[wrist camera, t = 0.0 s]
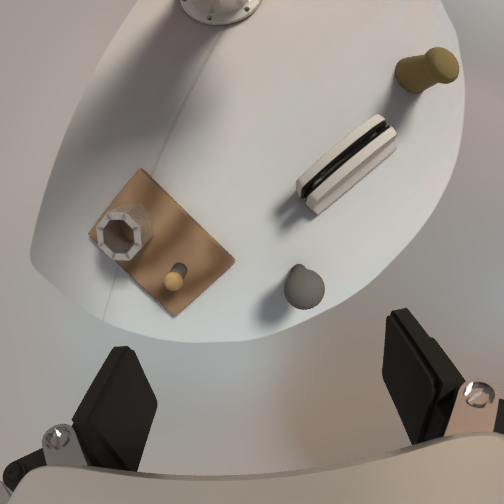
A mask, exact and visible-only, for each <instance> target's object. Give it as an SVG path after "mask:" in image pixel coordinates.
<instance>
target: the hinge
mask: <svg viewBox="0 0 504 504" xmlns="http://www.w3.org/2000/svg"><path fill="white" fill-rule="evenodd" d="M385 126H386V122H385V118H383V117H382V116H380V115H379V114H376V115H375V116H373V117H372V118H370V119H369V120H367V121H366V122H365V123H363V124H362V125H360V126H359V127H358V128H356V129H355V130H354V131H352V132H351V133H350V134H349V135H347V136H346V137H345V138H344V139H342V140H341V141H340V142H339V143H337V144H336V145H335V146H334V147H333V148H331V149H330V150H329V151H328V152H327V153H326V154H325V155H323V156H322V157H321V158H320V159H319V160H318V161H317V162H316V163H314V164H313V165H312V166H311V167H310V168H309V169H308V170H307V171H306V172H305V173H304V174H303V175H302V176H301V177H299V179H298V180H297V181H296V191H297V193H298V195H299V197H300V198H301V197H302V198H303V199H304V198H305V197H306V200H305V201H306V205H307V206H308V207H309V208H310V209H311V210H312V211H314V212H315V213H316V214H317V215H319V214H320V213H322V212H323V211H324V210H325V209H326V208H328V207H329V206H330V205H331V204H332V203H334V202H335V201H336V200H337V199H338V198H340V197H341V196H342V195H343V194H344V193H346V192H347V191H348V190H349V189H350V188H352V187H353V186H354V185H355V184H356V183H357V182H359V181H360V180H361V179H362V178H363V177H365V176H366V175H367V174H368V173H369V172H371V171H372V170H373V169H374V168H375V167H376V166H378V165H379V164H380V163H381V162H382V161H384V160H385V159H386V158H387V157H388V156H389V155H391V154H392V153H393V152H394V151H395V150H396V149H397V148H396V146H395V143H394V139H395V137H396V135H397V133H396V132H395V130H394V129H393V127H390V126H389V125H388V126H386V127H385ZM347 156H348V157H347ZM346 157H347V158H346ZM345 158H346V159H345ZM341 161H342V162H341ZM340 162H341V163H340ZM339 163H340V164H339ZM338 164H339V165H338ZM336 165H337V166H336ZM335 166H336V167H335Z"/></svg>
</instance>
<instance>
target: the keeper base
mask: <svg viewBox="0 0 504 504" xmlns="http://www.w3.org/2000/svg"><path fill="white" fill-rule="evenodd" d="M129 203H141V204H142V205H143V206H144V207H145V208H146V209H147V210H148V211H149V212H150V213H151V214H152V215H153V216H154V232H155V234H154V236H153V237H152V238H151V239H150V240H149V241H148V242H147V243H146V244H145V246H144V247H143V248H142V249H141V250H140V251H139V252H138V253H137V254H136V255H135V256H134V257H133V258H132V259H131V260H130V261H129V260H115V261H116V262H117V263H118V264H119V265H120V266H121V267H122V268H123V269H124V270H125V271H126V272H127V273H128V274H129V275H130V276H131V277H133V278H134V279H135V280H136V281H137V282H138V283H139V284H140V285H141V286H142V287H143V288H144V289H145V290H147V291H148V292H149V293H150V294H151V295H152V296H153V297H154V298H155V299H156V300H158V301H159V302H160V303H161V304H162V305H163V306H164V307H165V308H167V309H168V310H169V311H170V312H171V313H172V314H173V315H175V316H176V315H177V314H179V313H180V312H181V311H182V310H183V309H184V308H185V307H186V306H187V305H188V304H190V303H191V302H192V301H193V300H194V299H195V298H196V297H197V296H198V295H199V294H201V293H202V292H203V291H204V290H205V289H206V288H207V287H208V286H209V285H210V284H212V283H213V282H214V281H215V280H216V279H217V278H218V277H219V276H220V275H222V274H223V273H224V272H225V271H226V270H227V269H228V268H229V267H230V266H231V265H233V264H234V263H235V259H234V258H233V257H232V256H231V255H230V254H229V253H228V252H227V251H226V250H225V249H224V248H223V247H222V246H221V245H220V244H219V243H218V242H217V241H216V240H215V239H214V238H213V237H212V236H211V235H210V234H208V233H207V232H206V231H205V230H204V229H203V228H202V227H201V226H200V225H199V224H198V223H197V222H196V221H195V220H194V219H193V218H192V217H191V216H190V215H189V214H188V213H187V212H186V211H185V210H184V209H183V208H182V207H181V206H180V205H179V204H178V203H177V202H176V201H175V200H174V199H173V198H172V197H171V196H170V195H169V194H168V193H167V192H166V191H165V190H164V189H163V188H162V187H161V186H160V185H159V184H158V183H157V182H156V181H155V180H153V179H152V178H151V177H150V176H149V175H148V174H147V173H146V172H145V171H144V170H143V169H139V170H138V171H137V172H136V174H135V175H134V176H133V177H132V178H131V180H130V181H129V182H128V183H127V184H126V186H125V187H124V188H123V189H122V190H121V192H120V193H119V194H118V195H117V197H116V198H115V199H114V200H113V202H112V203H111V204H110V206H109V207H108V208H107V209H106V211H105V212H104V213H103V215H102V216H101V217H100V219H99V220H98V221H97V223H96V224H95V225H94V227H93V228H92V229H91V231H90V232H89V233H88V234H89V235H90V236H91V237H92V238H93V239H94V240H95V241H96V242H97V243H98V239H97V231H96V226H97V225H98V224H99V222H100V221H101V220H102V218H103V217H104V216H105V214H106V213H107V212H109V211H111V210H113V209H114V208H116V207H118V206H120V205H122V204H129ZM119 224H120V232H121V233H122V234H123V235H124V236H125V237H126V238H127V239H128V240H134V231H133V229H132V228H131V227H130V226H129V225H128V224H127V223H126V222H125V221H124V220H119Z"/></svg>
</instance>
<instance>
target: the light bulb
mask: <svg viewBox="0 0 504 504" xmlns="http://www.w3.org/2000/svg"><path fill="white" fill-rule="evenodd" d="M284 292H285V296H286V299H287V300H288V302H289V303H290V304H291V305H292V306H294V307H295V308H298V309H302V310H306V309H311V308H313V307H315V306H317V305H318V304H319V303H320V302H321V300H322V298H323V296H324V292H325V287H324V282H323V280H322V278H321V277H320V276H319V275H318V274H317V273H316V272H314V271H312V270H308V269H306V268H305V267H304V266H303V265H302V264H297V265H295V266H293V268H292V273H291V275H290V276H289V277H288V279H287V281H286V283H285V287H284Z"/></svg>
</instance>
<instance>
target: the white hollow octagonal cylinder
mask: <svg viewBox="0 0 504 504" xmlns="http://www.w3.org/2000/svg"><path fill="white" fill-rule="evenodd" d="M119 220H124V221H125V222H126V223H127V224H128V225H129V226H130V227H131V228H132V229H133V231H134V240H128V239H127V238H126V237H125V236H124V235H123V234H122V233H121V232H120V224H119ZM96 231H97V239H98V246H99V247H100V248H101V249H102V250H103V251H104V252H105V253H106V254H107V255H108V256H109V257H110V258H111V259H112V260H129V261H130V260H131V259H132V258H133V257H134V256H135V255H136V254H137V253H138V252H139V251H140V250H141V249H142V248H143V247H144V246H145V244H146V243H147V242H148V241H149V240H150V239H151V238H152V237H153V236H154V234H155V232H154V216H153V215H152V214H151V213H150V212H149V211H148V210H147V209H146V208H145V207H144V206H143V205H142V204H141V203H129V204H122V205H120V206H118V207H116V208H114V209H113V210H111V211H109V212H107V213H106V214H105V216H104V217H103V218H102V220H101V221H100V222H99V224H98V225H97V226H96Z"/></svg>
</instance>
